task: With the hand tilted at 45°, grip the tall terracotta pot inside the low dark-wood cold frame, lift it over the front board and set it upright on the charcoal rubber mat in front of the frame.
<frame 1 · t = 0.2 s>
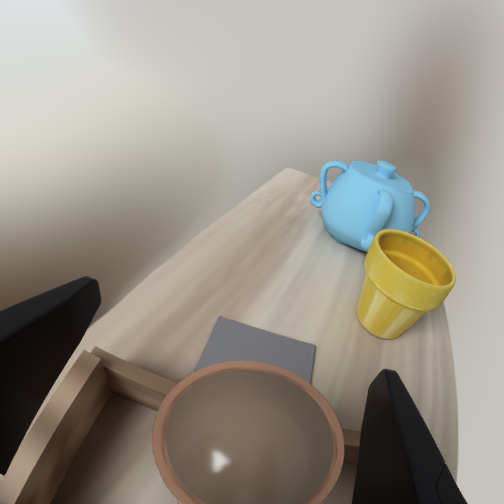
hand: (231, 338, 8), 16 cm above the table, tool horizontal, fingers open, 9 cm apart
terracotta pot: (219, 486, 17), resting in cold frame
decorative pot: (358, 237, 50), on the table
plant pot: (379, 319, 34), on the table
potting mat: (255, 373, 26), on the table
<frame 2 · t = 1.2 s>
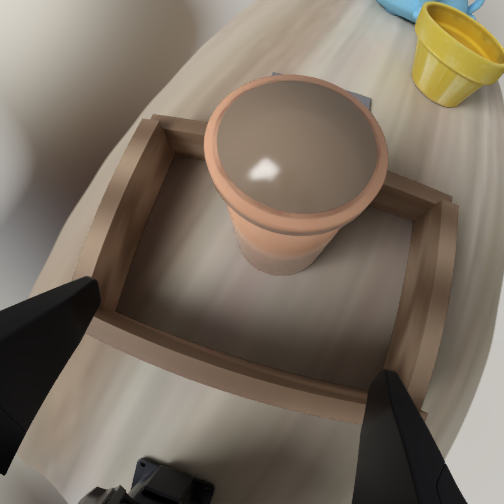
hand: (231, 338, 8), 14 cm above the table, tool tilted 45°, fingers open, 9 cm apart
terracotta pot: (280, 232, 23), resting in cold frame
decorative pot: (411, 12, 31), on the table
plant pot: (435, 87, 27), on the table
cold frame: (270, 266, 23), on the table
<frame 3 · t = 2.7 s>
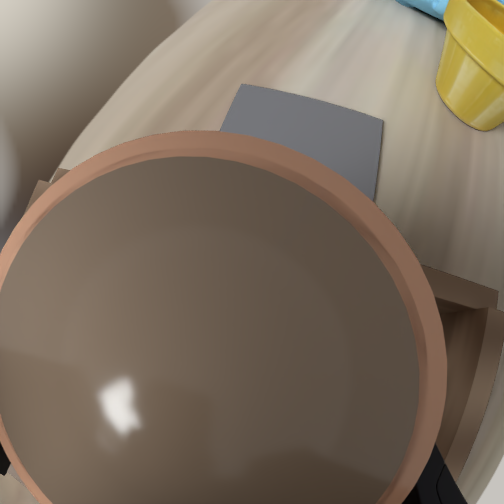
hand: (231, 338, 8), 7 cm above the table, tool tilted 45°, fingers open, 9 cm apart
terracotta pot: (240, 344, 15), resting in cold frame
decorative pot: (426, 4, 23), on the table
plant pot: (464, 101, 19), on the table
cold frame: (225, 392, 15), on the table
potting mat: (295, 159, 18), on the table
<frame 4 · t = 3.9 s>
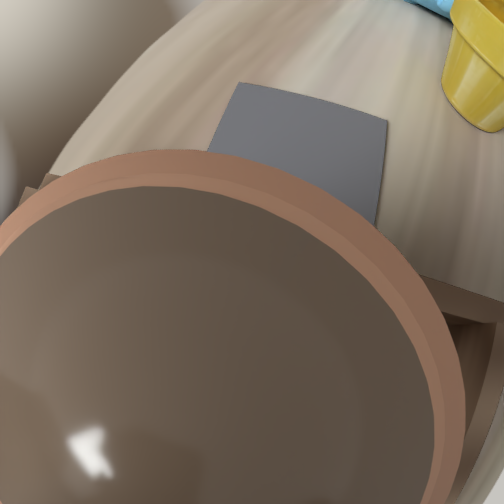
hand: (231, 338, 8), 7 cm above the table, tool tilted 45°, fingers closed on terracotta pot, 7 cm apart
terracotta pot: (236, 357, 15), resting in cold frame, touching gripper
decorative pot: (430, 1, 22), on the table
plant pot: (470, 101, 18), on the table
cold frame: (221, 406, 14), on the table
potting mat: (295, 162, 17), on the table
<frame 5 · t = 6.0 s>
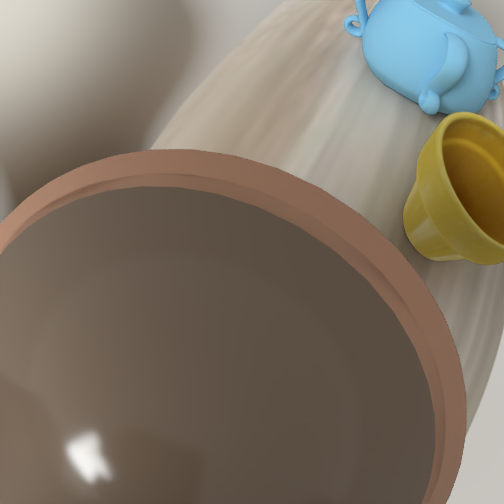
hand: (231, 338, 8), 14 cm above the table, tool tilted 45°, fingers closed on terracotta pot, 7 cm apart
terracotta pot: (236, 358, 14), point 7 cm above the table, touching gripper
decorative pot: (416, 77, 28), on the table
plant pot: (432, 223, 24), on the table
when the fingers open (8 cm above the table, at t = 8.0 s): terracotta pot drops 1 cm, resting on potting mat.
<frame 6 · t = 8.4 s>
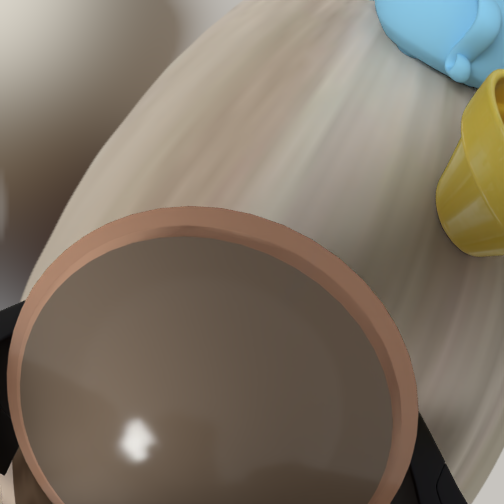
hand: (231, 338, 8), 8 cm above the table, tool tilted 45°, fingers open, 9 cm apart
terracotta pot: (239, 357, 16), resting on potting mat
decorative pot: (435, 48, 22), on the table
plant pot: (468, 211, 18), on the table
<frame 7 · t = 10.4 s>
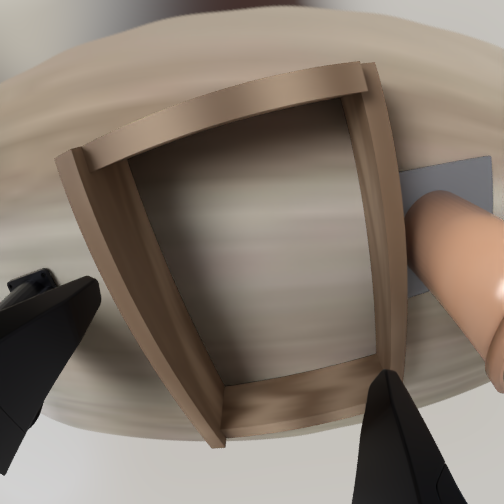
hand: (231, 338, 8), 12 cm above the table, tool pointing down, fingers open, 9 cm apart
terracotta pot: (436, 233, 20), resting on potting mat
cold frame: (272, 273, 21), on the table
potting mat: (446, 228, 20), on the table
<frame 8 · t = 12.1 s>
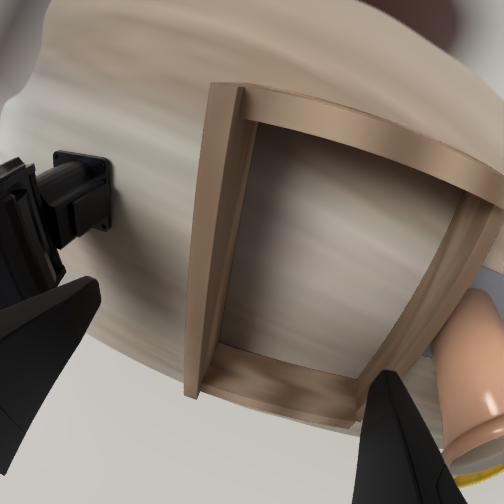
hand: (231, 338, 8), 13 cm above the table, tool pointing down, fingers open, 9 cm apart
terracotta pot: (461, 319, 20), resting on potting mat
plant pot: (472, 407, 27), on the table
cold frame: (326, 279, 22), on the table
potting mat: (469, 319, 21), on the table
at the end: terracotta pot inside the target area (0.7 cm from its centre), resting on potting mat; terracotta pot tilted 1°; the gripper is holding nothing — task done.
